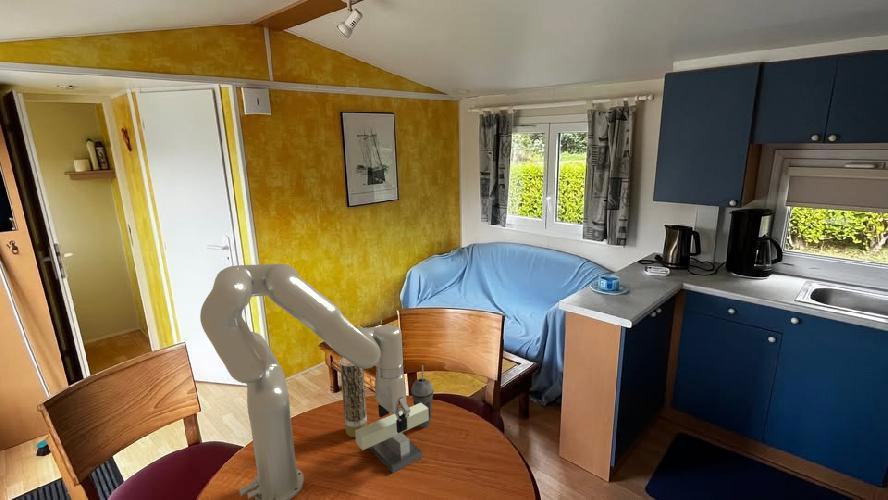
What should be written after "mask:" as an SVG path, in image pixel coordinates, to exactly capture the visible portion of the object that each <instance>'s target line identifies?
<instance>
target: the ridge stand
mask: <svg viewBox="0 0 888 500" xmlns="http://www.w3.org/2000/svg"><path fill="white" fill-rule="evenodd" d="M368 449H369V451H371V453H372V454H373V455H374V456H376V457H377V459H378V460H379V461H380V462H381V463H382V464H383V465H384V466H385V467H386V468H387V469H388V470H389V471H390V472H391V473H392V474H394V473H395V472H398V471H399V470H401V469H404V468H405V467H407V466H409V465H410V464H413V463H415V462H416V461H418V460H419V459H422V458H423V451H422V450H421V449H420V448H419V447H418V446H417V445H416V444H415V443H413V442H412V441H411V440H410V438H409V437H407V436H406V435H405V434H404V432H402V433H400V434H397V435H395V436H393V437H391V438H389V439H387V440H384V441H382V442H380V443H378V444H376V445H373V446H371V447H369V448H368Z"/></svg>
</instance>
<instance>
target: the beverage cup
mask: <svg viewBox="0 0 888 500" xmlns="http://www.w3.org/2000/svg"><path fill="white" fill-rule="evenodd" d="M410 395H411V398H412V400H413V401H412V402H413V406H414V405H416V404H419V403H422V404H424V405H425V406H426V407H427V408H428V412H429V420H428V421H426V422H424V423H422V424H419V425H417V426H416V427H419V428H427V427H429V426H430V425H431V421H432V407H433V398H434V397H433V396H434V387H433V384H432V382H430V380H428V379H427V378H424V365H423V364H422V365H421V378H418V379H415V381H414V382H413V383H412V386H411V390H410Z"/></svg>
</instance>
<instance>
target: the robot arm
mask: <svg viewBox="0 0 888 500" xmlns="http://www.w3.org/2000/svg"><path fill="white" fill-rule="evenodd" d="M213 282H214V283H213V285H212V288H211V291H210V292H209V293H208V295H207V297H206V298H205V300H204V301H203V304H202V306H201V309H200V313H199V314H200V315H199V316H200V317H199V318H200V324H201V327H202V329H203V331H204V333H205V335H206V337H207V339H208V340H209V341H210V343H211V344H212V346H213V348H214V350H215V351H216V354H217V355H218V357H219V359H220V360H221V362H222V363H223V364H224V366H225V369H226V370H227V372H228V373H229V375H230V376H231V378H232V379H234V380H235V381H237V382H238V383H240V384H246V397H247V398H246V406H247V408H246V409H247V415H248V418H249V419H248V420H249V425H250V431H251V438H252V444H253V451H254V452H253V453H254V458H255V459H254V460H255V465H256V472H257V474H256V475H254V480H252V481H251V483H248V484H247V485H243V486H242V487H240V488H238V492H239V495H240V497H243V496H244V495H246V496H247V499H248V500H249V499H251V498H253V497H254V499H255V500H291V499H293V498H295V496H297V495H298V494H299V493H300V492H301V491H302V489H303V487H304V484H305V478H304V474H303V472H302V471H301V470H300V469H297V461H296V453H295V452H296V451H295V445H294V444H295V443H294V435H293V427H292V419H291V418H292V417H291V404H290V403H291V402H290V395H289V390H288V384H287V380H286V377H285V372H284V370H283V368H282V367H281V365H280V363H279V361H278V360H277V357H276V356H275V355H274V353H273V351H272V349H271V348H270V346H269V344H268V343H267V341H266V340H265V338H264V337H263V336H262V335H261V334H259V333H257V332H255V331H252V330H251V329H250V327H249V325H248V324H247V323H246V321H245V319H244V318H243V313H244V310H245V309H246V307H247V305H248V304H249V303H250V301H251V299H252V297H265V296H267V297H268V298H269V299H270V300H271V301H272V302H273V303H274V304H275V305H277V306H278V307H280V308H281V309H282V310H284V311H285V312H286V313H288V314H289V315H290V316H292V317H293V318H294V319H296V320H297V321H299V322H301V324H303V325H304V326H305V327H307V328H309V330H311V331H312V332H313V333H314V334H315V336H317V337H318V338H320V340H322V341H323V342H324V343H326V345H327V346H329V347H330V348H331V349H332V350H333V351H334V352H336V354H338V355H339V356H340V357H341V358H342V357H344V358H345V359H346V360H348V361H349V362H351V363H352V364H354V365H355V366H357V367H359V368H362V369H363V370H367V369H372V368H374V367H376V369H375V370H376V371H375V372H376V373H375V378H374V379H375V381H374V382H375V384H374V390H375V392H374V393H375V396H374V397H375V401H376V403H377V404H378V406H377V407H378V417H379V418H382V417H385V416H387V415H389V414H391V415H393V414H396V417H397V419H398V420H396V426H397V433H400V432H402V433H404V432H406V431H408V430H407V418H408V416H409V413H410V409H409V407H410V406H409V405H408V403H407V393H406V391H407V390H406V384H405V379H404V359H403V358H404V357H403V355H404V354H403V336H402V330H401V328H400V327H398V326H397V325H394V324H384V325H380V326H378V327H355V325H353V324H352V323H351V321H349V320H348V319H347V318H346V317H345V315H344V314H343V313H342V312H341V310H340V309H339V307H338V306H336V304H334V302H333V301H331V300H330V299H329V298H327V297H326V296H325V295H324V294H322V293H321V292H320V291H318V290H317V289H316V288H314V287H313V286H312V285H311V284H310V283H309V282H307V281H306V280H304V279H303V278H302V277H301V276H300V275H299V273H298V271H297V270H296V269H295V268H294V266H291V265H289V264H285V263H267V264H265V263H264V264H239V265H237V264H236V265H230V266H228V267H225V268H223V269H221V271H219V272H218V274H216V277H215V278H214V281H213ZM400 411H402V412H403V414H402V415H401V416H400V414H399V412H400ZM405 430H406V431H405ZM403 431H404V432H403Z"/></svg>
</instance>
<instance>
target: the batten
mask: <svg viewBox="0 0 888 500" xmlns="http://www.w3.org/2000/svg"><path fill="white" fill-rule="evenodd" d="M408 407H409V409H410V413H409V416H408V418H407V430H405V431H403V432H400V433H404V432H406V431H409V430H411V429H413V428H414V427H418V426H417V425H419V424H422V423H424V422H426V421H428V420H429V412H428V408H427V407H426V406H425V405H424V404H422V403H419V404H416V405H414V404H413V405H412V406H408ZM398 412H399V414H400V416H401V415H402V414H403V412H402V410H400V411H398ZM396 420H398V419H397V417H396V414H395V413H394V414H390V415H389V416H386V417H384V418H381V419H379V420H377V421H374V422H372V423H369V424H367V426H364V427H362V428H360V429H357V430H355V434H356V437H355V442H356V444H357V446H358V447H359V448H360V449H361V450H362V451H364V450H366V449H369V447H371V446H373V445H376V444H378V443H380V442H382V441H384V440H387V439H389V438H391V437H393V436H395V435H397V434H400V433H397V426H396Z"/></svg>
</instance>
